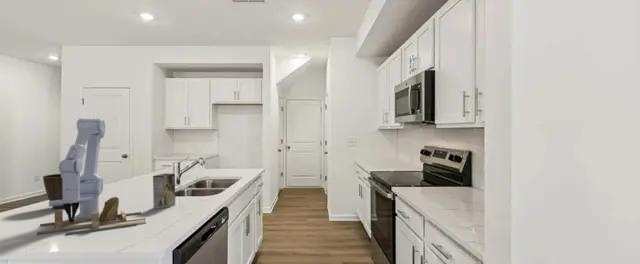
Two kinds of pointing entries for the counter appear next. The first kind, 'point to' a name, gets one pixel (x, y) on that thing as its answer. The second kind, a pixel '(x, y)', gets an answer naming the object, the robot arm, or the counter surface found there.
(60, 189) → the plant pot
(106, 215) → the rock
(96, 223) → the maple strip
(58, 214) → the oak sled
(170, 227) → the counter surface
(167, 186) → the coffee box
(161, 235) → the counter surface
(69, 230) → the rails
